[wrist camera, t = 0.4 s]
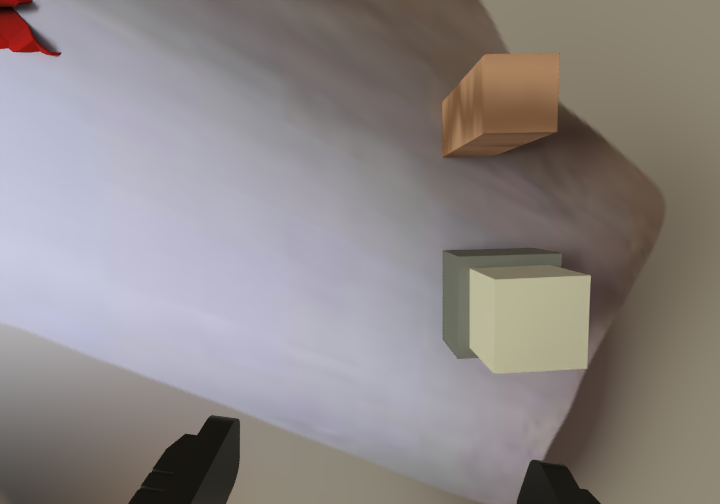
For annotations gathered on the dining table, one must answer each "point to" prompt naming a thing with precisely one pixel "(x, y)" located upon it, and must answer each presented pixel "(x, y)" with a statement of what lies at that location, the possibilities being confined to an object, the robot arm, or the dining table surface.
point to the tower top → (529, 318)
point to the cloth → (17, 30)
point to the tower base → (459, 286)
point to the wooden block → (501, 105)
